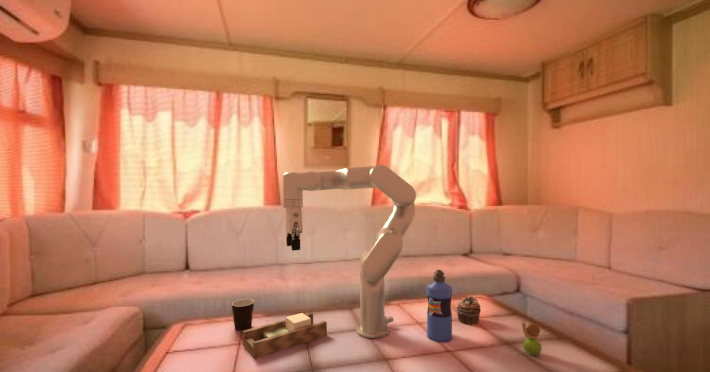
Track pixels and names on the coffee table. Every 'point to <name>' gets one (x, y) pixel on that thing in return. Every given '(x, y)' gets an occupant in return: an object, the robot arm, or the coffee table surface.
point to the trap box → (280, 336)
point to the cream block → (297, 321)
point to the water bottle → (439, 309)
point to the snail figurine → (531, 338)
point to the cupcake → (468, 311)
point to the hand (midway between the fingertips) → (293, 247)
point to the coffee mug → (242, 314)
